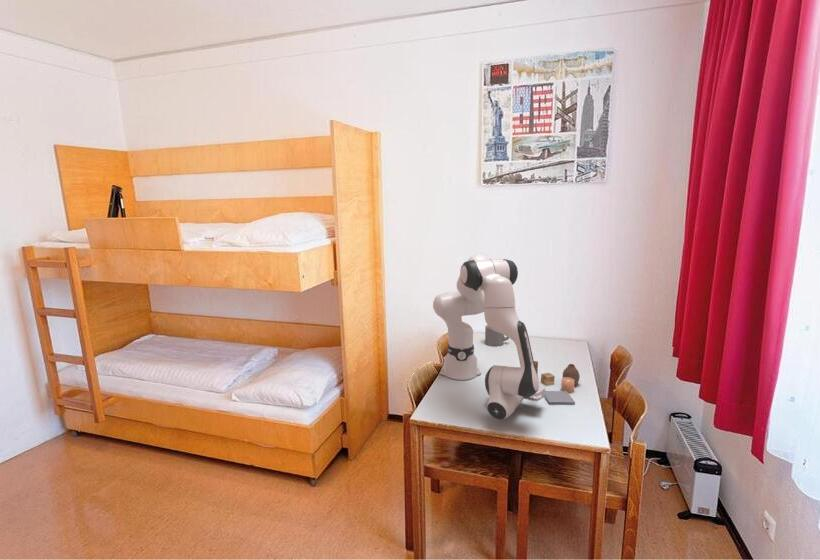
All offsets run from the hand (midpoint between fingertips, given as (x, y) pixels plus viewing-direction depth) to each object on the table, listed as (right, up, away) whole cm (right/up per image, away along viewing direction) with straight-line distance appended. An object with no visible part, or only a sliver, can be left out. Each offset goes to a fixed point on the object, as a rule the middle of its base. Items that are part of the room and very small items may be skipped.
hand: (523, 380), depth 174 cm
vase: (+24, -5, +13) cm, 27 cm away
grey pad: (+14, -7, -1) cm, 15 cm away
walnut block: (+5, -5, +8) cm, 11 cm away
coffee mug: (+3, +5, +65) cm, 66 cm away
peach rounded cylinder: (+20, -6, +6) cm, 22 cm away
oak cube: (+14, -4, +14) cm, 20 cm away
